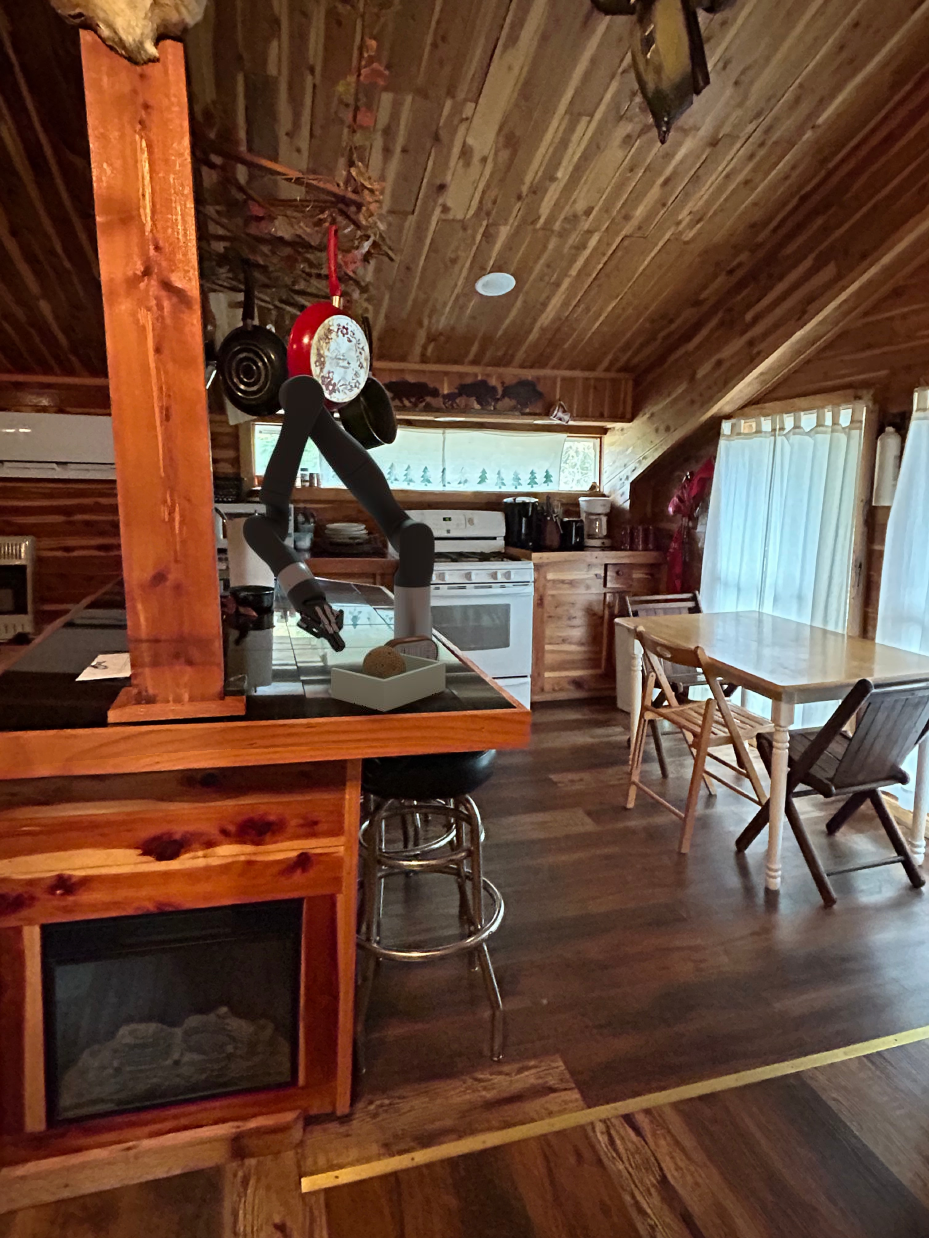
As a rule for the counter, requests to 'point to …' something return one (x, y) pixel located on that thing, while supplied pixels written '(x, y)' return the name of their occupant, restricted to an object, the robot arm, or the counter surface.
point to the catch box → (390, 684)
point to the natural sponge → (383, 663)
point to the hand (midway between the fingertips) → (341, 649)
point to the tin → (415, 646)
